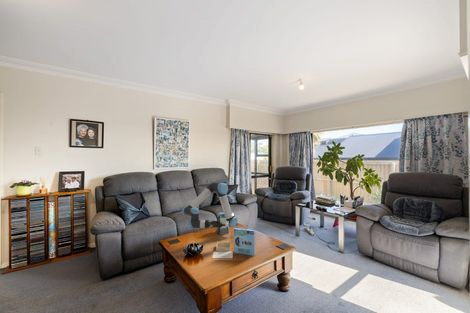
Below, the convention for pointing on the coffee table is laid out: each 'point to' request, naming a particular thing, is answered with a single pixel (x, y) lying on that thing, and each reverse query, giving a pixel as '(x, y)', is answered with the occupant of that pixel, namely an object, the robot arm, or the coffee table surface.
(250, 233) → the gum box
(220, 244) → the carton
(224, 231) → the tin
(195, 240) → the coffee table surface
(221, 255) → the board
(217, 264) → the coffee table surface
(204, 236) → the coffee table surface
